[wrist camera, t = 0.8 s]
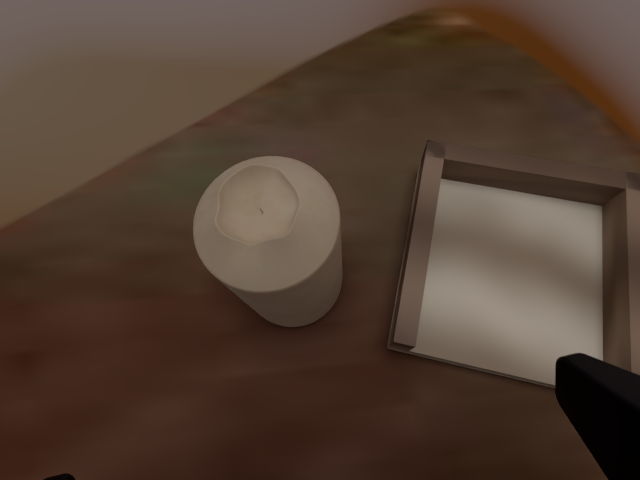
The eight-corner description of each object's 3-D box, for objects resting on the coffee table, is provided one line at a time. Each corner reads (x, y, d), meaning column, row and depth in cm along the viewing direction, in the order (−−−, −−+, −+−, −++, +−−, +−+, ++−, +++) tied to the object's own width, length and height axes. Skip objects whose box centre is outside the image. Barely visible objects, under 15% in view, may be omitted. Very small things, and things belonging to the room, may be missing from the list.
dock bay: (610, 401, 19) (658, 403, 16) (386, 348, 21) (393, 341, 18) (608, 202, 23) (647, 175, 20) (417, 170, 24) (427, 140, 21)
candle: (361, 292, 22) (373, 221, 13) (277, 348, 21) (223, 315, 12) (309, 218, 24) (285, 108, 14) (230, 267, 23) (150, 183, 14)
